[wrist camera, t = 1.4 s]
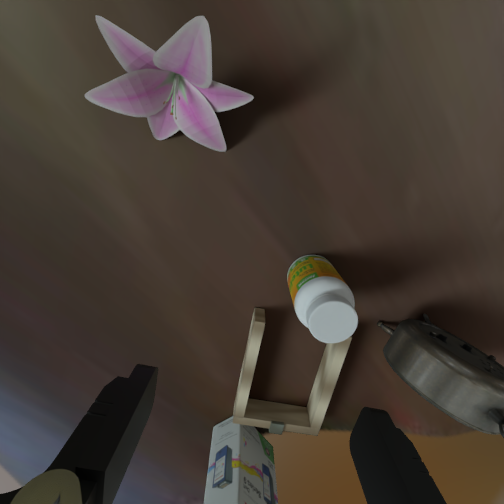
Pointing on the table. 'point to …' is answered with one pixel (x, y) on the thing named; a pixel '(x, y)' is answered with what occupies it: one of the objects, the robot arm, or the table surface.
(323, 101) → the table surface
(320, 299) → the supplement bottle
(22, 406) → the table surface
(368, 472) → the robot arm
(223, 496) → the ink box
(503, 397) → the alarm clock
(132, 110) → the lily
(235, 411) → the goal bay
